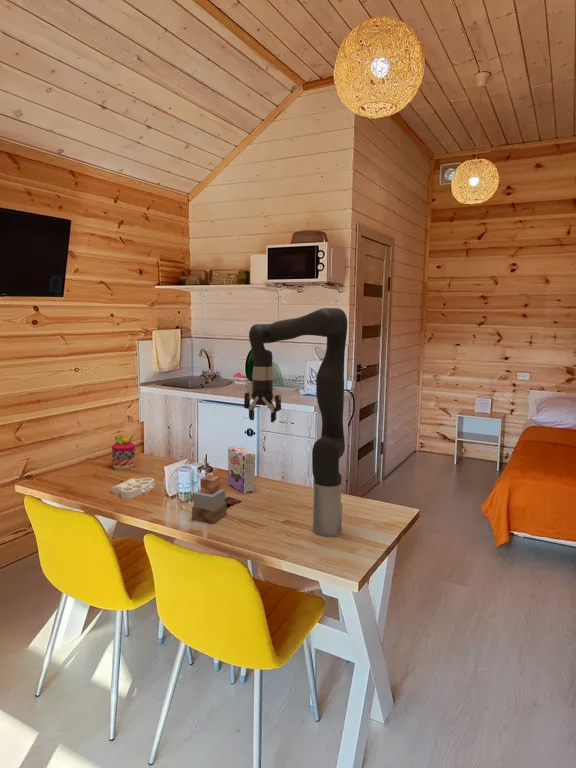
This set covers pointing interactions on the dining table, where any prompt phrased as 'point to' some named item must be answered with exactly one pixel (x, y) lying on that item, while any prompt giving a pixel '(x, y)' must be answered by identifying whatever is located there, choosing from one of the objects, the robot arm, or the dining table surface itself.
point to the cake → (123, 454)
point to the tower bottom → (209, 514)
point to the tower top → (209, 500)
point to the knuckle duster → (133, 487)
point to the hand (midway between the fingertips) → (262, 420)
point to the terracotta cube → (210, 484)
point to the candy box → (241, 469)
